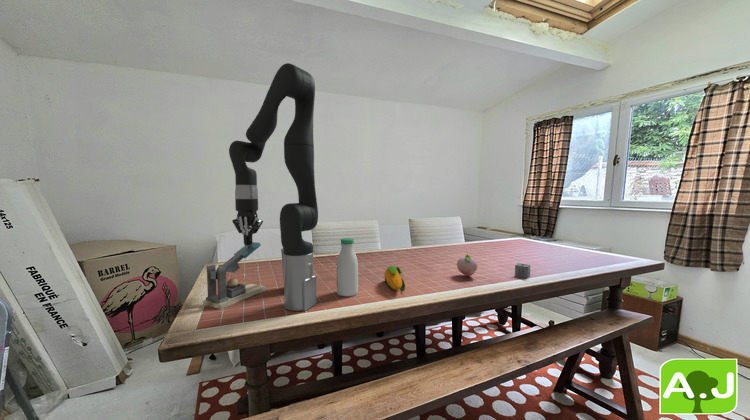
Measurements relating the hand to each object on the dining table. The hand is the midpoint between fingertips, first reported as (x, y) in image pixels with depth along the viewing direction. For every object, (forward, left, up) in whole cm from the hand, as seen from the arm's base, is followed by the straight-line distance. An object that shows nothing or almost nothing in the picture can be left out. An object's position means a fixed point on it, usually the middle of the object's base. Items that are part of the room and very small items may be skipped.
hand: (248, 245), depth 103 cm
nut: (0, +7, -14) cm, 16 cm away
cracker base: (0, +5, -18) cm, 18 cm away
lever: (0, +6, -9) cm, 11 cm away
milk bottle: (-34, -13, -18) cm, 41 cm away
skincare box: (-13, -9, -18) cm, 24 cm away
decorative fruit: (-72, -52, -18) cm, 90 cm away
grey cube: (-95, -62, -18) cm, 115 cm away
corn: (-48, -26, -18) cm, 57 cm away
